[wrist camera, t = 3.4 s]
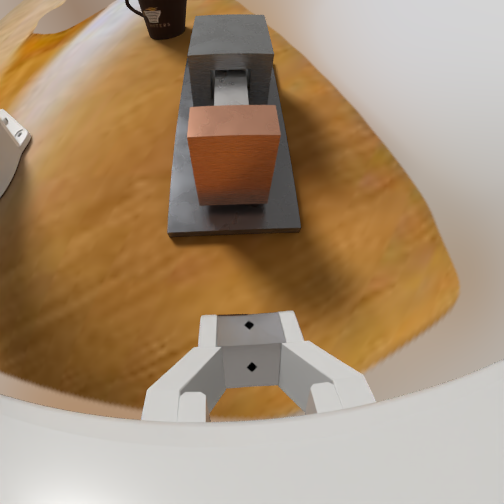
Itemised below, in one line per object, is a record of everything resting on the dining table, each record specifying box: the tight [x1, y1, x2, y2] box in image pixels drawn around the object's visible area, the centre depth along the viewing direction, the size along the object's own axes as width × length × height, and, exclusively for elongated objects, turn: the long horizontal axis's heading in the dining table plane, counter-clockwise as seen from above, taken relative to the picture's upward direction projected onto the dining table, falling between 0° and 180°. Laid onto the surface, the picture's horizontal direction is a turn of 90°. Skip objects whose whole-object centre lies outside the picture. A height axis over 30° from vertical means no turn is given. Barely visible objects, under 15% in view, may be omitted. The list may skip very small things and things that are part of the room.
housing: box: [167, 15, 301, 237], centre depth 28 cm, size 28×12×10 cm, turn 4°
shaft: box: [187, 69, 281, 206], centre depth 26 cm, size 17×6×9 cm, turn 4°
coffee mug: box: [125, 0, 187, 40], centre depth 37 cm, size 12×9×10 cm
